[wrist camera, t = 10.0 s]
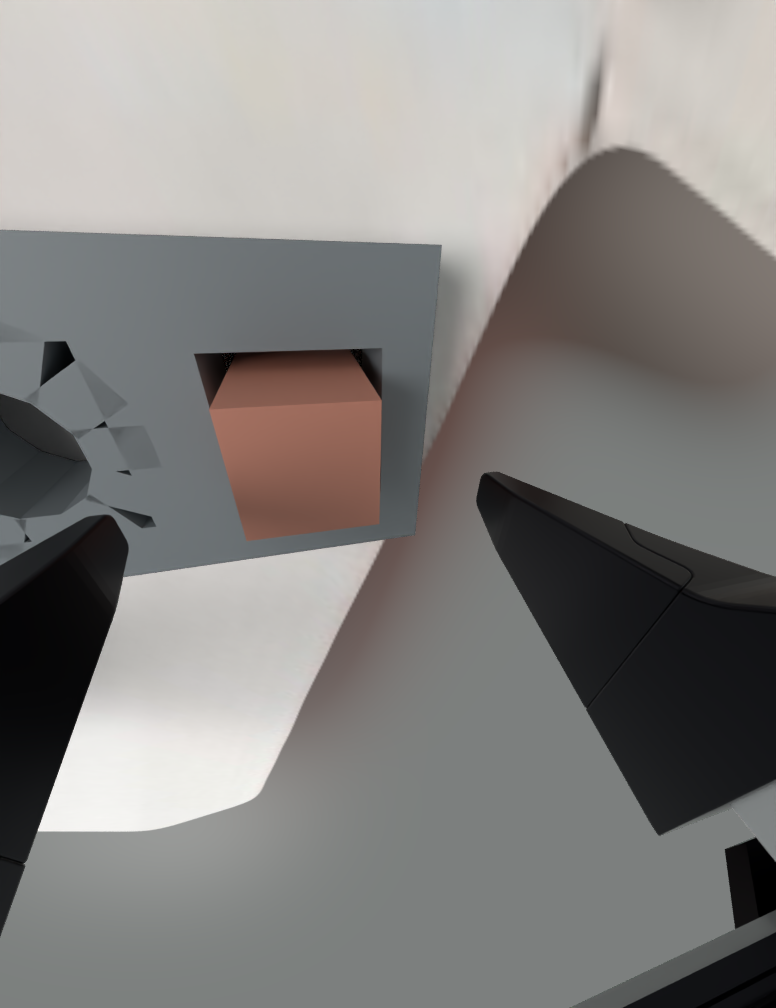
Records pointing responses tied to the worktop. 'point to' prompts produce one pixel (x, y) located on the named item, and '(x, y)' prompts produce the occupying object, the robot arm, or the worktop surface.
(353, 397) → the square peg
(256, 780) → the worktop surface
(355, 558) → the worktop surface
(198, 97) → the worktop surface
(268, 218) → the worktop surface
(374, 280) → the socket block
